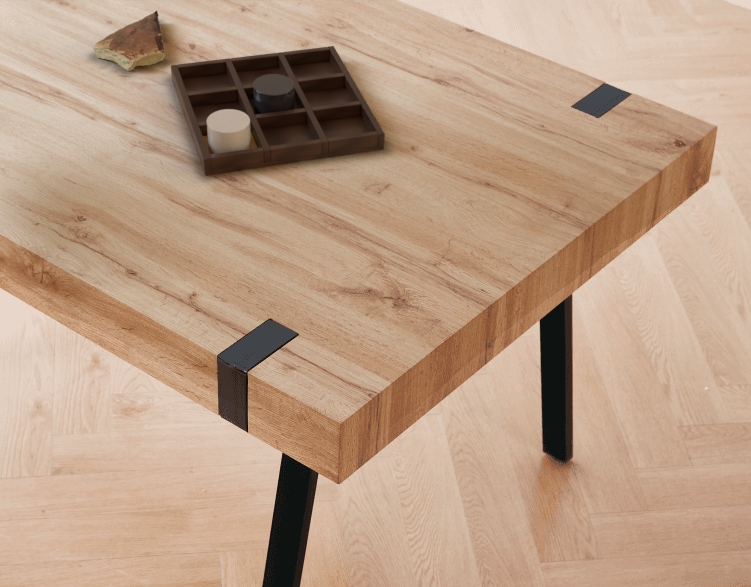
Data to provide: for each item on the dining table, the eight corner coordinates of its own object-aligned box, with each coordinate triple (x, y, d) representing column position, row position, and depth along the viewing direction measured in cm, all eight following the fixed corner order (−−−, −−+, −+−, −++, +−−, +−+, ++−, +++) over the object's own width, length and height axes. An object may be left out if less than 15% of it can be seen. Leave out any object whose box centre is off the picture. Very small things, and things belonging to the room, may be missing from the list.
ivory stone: (213, 161, 109) (211, 135, 107) (204, 138, 112) (202, 112, 110) (255, 155, 110) (254, 129, 108) (245, 132, 113) (244, 106, 111)
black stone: (259, 123, 115) (258, 97, 113) (249, 102, 118) (248, 76, 116) (298, 118, 116) (298, 92, 114) (288, 97, 119) (288, 71, 117)
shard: (157, 21, 132) (156, 8, 131) (204, 41, 129) (203, 27, 127) (92, 55, 125) (90, 41, 124) (140, 77, 122) (138, 63, 121)
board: (205, 175, 108) (203, 159, 107) (171, 80, 122) (170, 65, 120) (383, 149, 113) (384, 133, 112) (333, 61, 127) (333, 45, 125)
